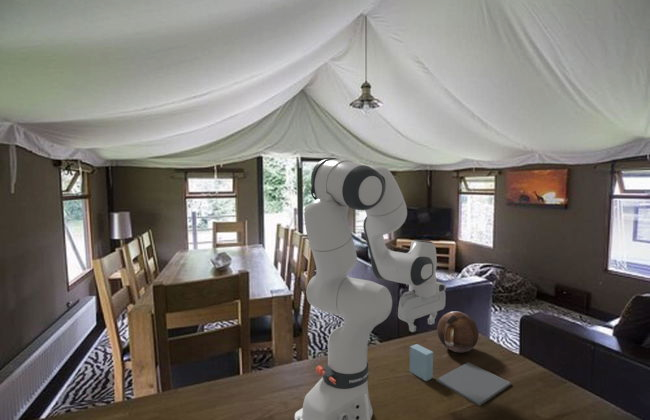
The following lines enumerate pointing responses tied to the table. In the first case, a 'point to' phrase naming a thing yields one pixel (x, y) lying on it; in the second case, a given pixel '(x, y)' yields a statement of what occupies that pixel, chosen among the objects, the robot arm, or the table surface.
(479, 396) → the mat
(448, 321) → the wooden sphere
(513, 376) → the table surface
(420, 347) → the block
